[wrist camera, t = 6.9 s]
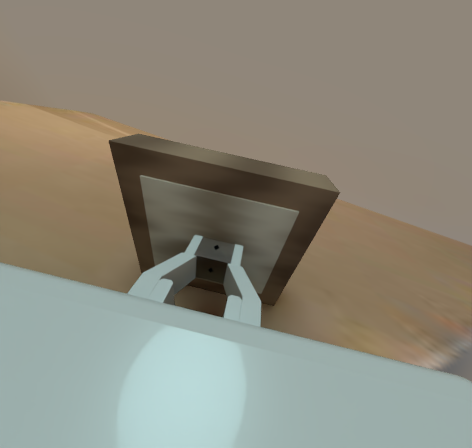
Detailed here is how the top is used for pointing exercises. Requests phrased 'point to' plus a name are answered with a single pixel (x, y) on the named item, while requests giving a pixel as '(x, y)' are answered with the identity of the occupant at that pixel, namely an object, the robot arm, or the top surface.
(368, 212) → the top surface
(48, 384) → the robot arm
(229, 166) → the walnut picture frame
